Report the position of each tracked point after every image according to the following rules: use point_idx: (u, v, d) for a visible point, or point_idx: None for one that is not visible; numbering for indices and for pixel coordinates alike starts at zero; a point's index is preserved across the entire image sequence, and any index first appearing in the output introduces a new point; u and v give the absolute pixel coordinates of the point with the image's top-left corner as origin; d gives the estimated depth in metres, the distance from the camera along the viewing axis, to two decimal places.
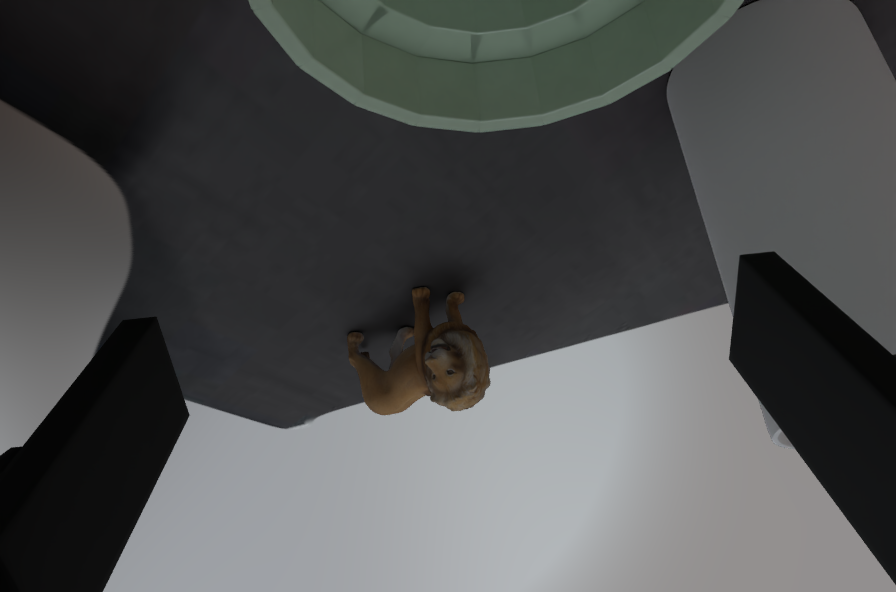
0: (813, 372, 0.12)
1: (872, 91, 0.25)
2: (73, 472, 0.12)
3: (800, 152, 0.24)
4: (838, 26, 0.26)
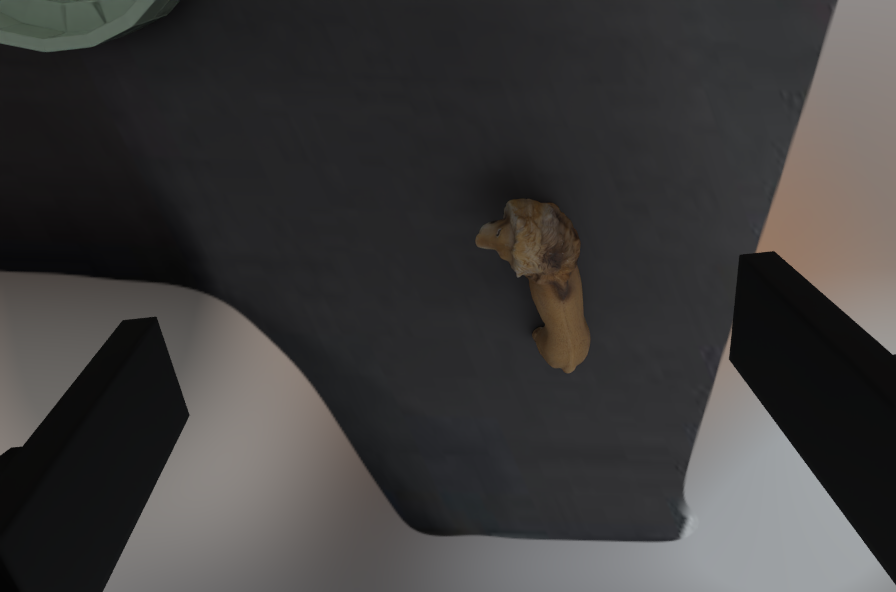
0: (813, 372, 0.12)
1: None
2: (73, 472, 0.12)
3: None
4: None
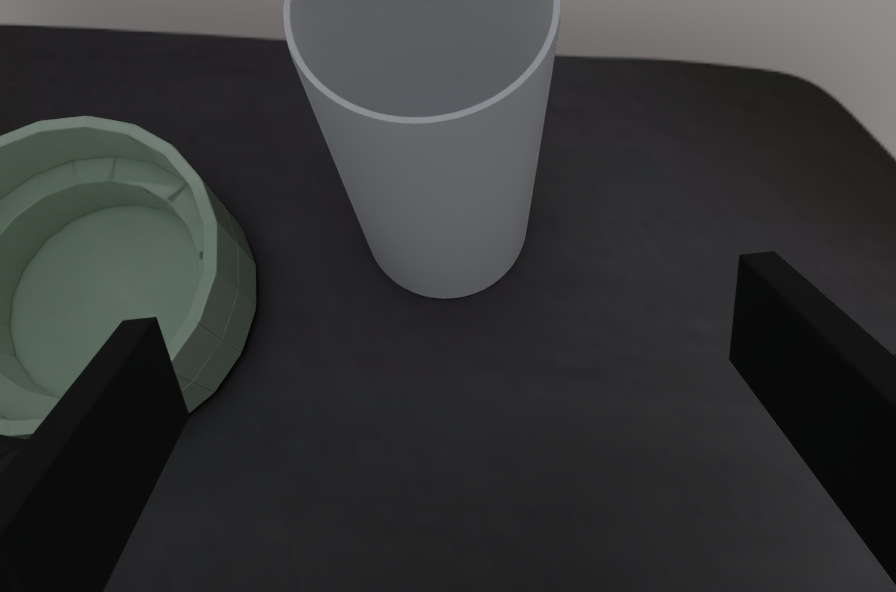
0: (813, 372, 0.12)
1: None
2: (73, 472, 0.12)
3: None
4: None
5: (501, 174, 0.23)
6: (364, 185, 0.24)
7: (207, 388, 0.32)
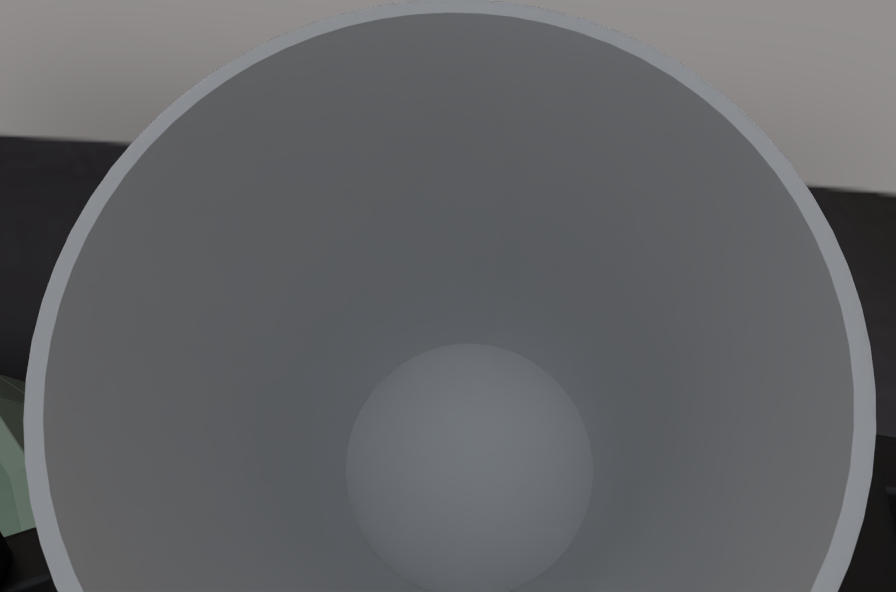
0: None
1: None
2: None
3: None
4: None
5: None
6: None
7: None
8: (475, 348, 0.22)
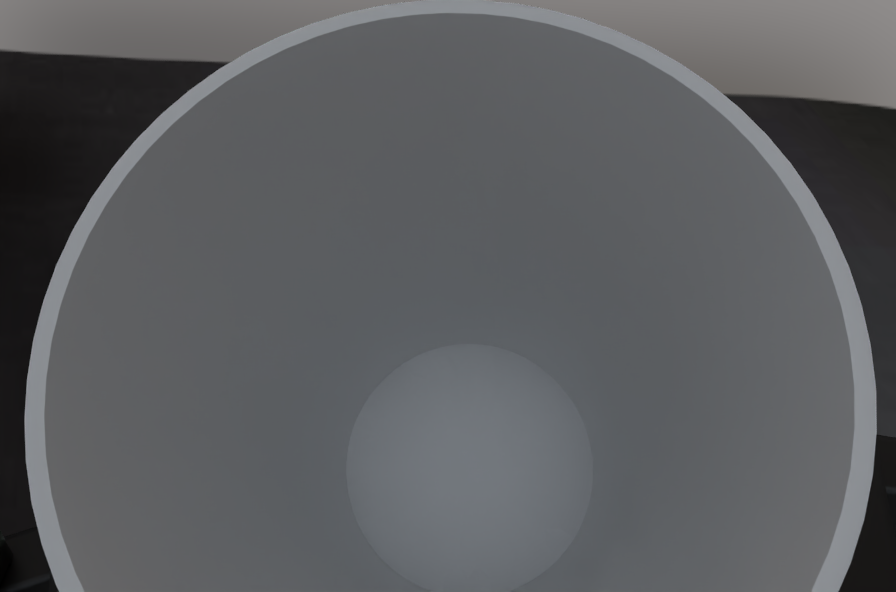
0: None
1: None
2: None
3: None
4: None
5: None
6: None
7: None
8: (475, 348, 0.22)
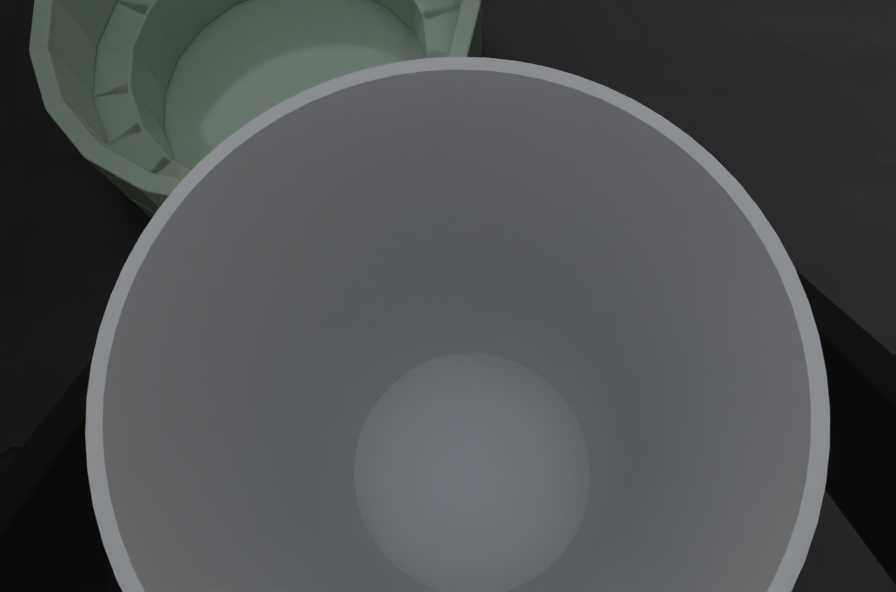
0: None
1: None
2: (73, 472, 0.12)
3: None
4: None
5: None
6: None
7: None
8: (478, 357, 0.23)
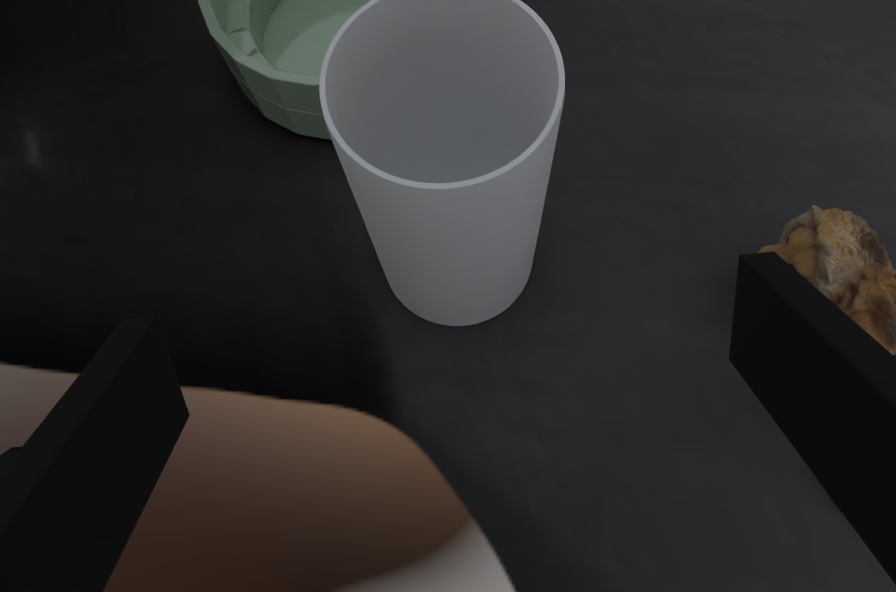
0: (813, 372, 0.12)
1: None
2: (73, 472, 0.12)
3: None
4: None
5: (511, 224, 0.26)
6: (387, 233, 0.27)
7: None
8: None
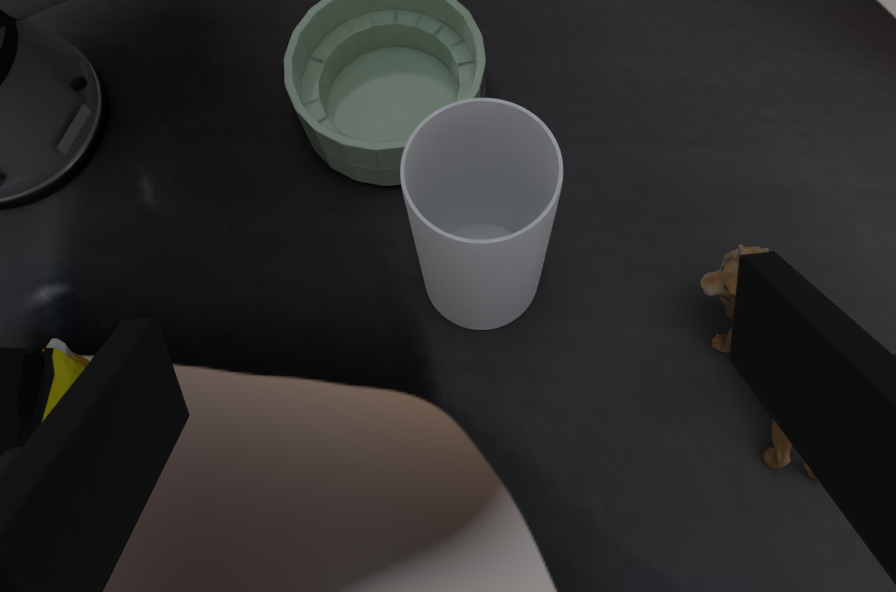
0: (813, 372, 0.12)
1: None
2: (73, 472, 0.12)
3: None
4: None
5: (526, 261, 0.38)
6: (440, 266, 0.38)
7: None
8: (484, 225, 0.50)
